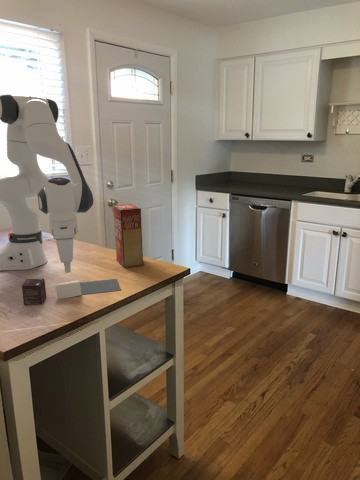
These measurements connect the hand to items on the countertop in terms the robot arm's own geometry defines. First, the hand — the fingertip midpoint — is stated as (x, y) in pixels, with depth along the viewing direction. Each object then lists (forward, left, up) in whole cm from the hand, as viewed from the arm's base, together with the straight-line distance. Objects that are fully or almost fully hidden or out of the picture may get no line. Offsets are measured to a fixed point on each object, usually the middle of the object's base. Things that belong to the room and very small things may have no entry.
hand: (67, 267), depth 131 cm
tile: (0, 0, -11) cm, 11 cm away
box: (-11, -1, -11) cm, 16 cm away
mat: (+10, +6, -11) cm, 16 cm away
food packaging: (+26, +32, -11) cm, 43 cm away
